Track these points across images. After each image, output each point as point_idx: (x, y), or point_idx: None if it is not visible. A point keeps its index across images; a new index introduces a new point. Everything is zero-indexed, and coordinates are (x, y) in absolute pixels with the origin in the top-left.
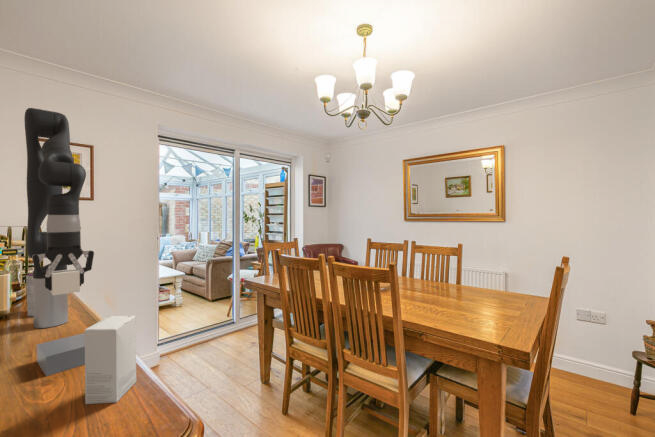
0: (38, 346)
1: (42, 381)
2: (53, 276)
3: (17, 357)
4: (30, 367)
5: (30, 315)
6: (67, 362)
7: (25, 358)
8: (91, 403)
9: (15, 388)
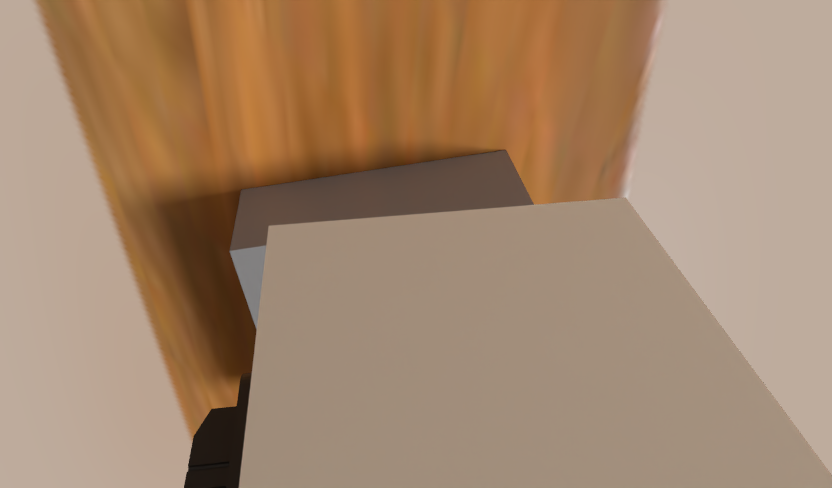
0: (244, 292)
1: None
2: None
3: (107, 18)
4: (222, 245)
5: None
6: None
7: (165, 80)
8: None
9: (209, 407)
